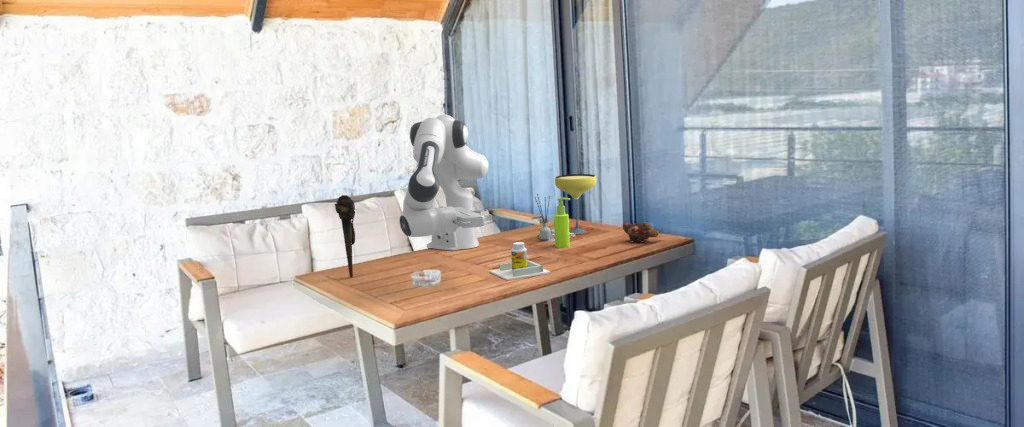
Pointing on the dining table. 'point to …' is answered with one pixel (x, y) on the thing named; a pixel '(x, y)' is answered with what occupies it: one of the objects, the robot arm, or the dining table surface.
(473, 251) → the dining table surface
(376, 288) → the dining table surface
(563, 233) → the soap dispenser
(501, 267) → the u rest
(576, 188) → the cocktail glass
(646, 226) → the decorative turtle
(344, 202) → the decorative torch
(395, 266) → the dining table surface
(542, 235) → the reed diffuser
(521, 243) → the supplement bottle
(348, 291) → the dining table surface
